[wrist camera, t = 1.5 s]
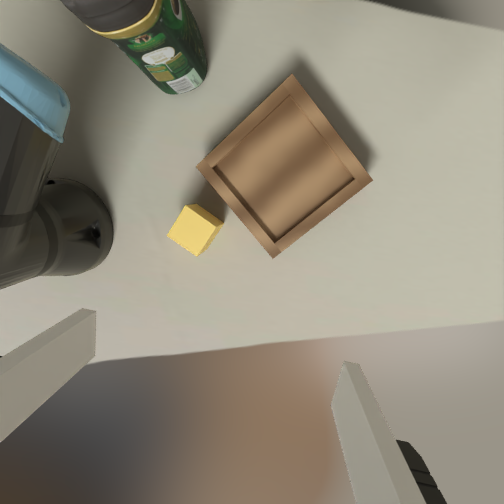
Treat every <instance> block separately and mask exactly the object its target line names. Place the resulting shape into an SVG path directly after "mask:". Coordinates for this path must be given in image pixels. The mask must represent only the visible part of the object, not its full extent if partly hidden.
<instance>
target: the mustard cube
mask: <svg viewBox="0 0 504 504" xmlns="http://www.w3.org/2000/svg"><path fill="white" fill-rule="evenodd" d="M223 224H224V223H223V222H222V221H220V220H219V219H217V218H216V217H215V216H213V215H212V214H210V213H209V212H208V211H206V210H205V209H203V208H202V207H201V206H199V205H198V204H192V205H185V206H184V208H183V210H182V211H181V213H180V215H179V216H178V218H177V220H176V221H175V223H174V225H173V226H172V228H171V229H170V231H169V233H168V234H167V236H168V237H169V238H171V239H172V240H174V241H175V242H177V243H178V244H179V245H181V246H182V247H184V248H185V249H187V250H188V251H190V252H191V253H192V254H194V255H195V256H198V255H200V254H201V253H202V252H204V251H205V250H206V249H207V248H208V247H209V245H210V244H211V242H212V241H213V239H214V238H215V236H216V235H217V233H218V232H219V230H220V229H221V227H222V226H223Z"/></svg>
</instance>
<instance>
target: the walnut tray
mask: <svg viewBox="0 0 504 504" xmlns="http://www.w3.org/2000/svg"><path fill="white" fill-rule="evenodd" d="M196 167H197V169H198V170H199V171H200V172H201V173H202V175H203V176H204V177H205V178H206V179H207V181H208V182H209V183H210V184H211V185H212V187H213V188H214V189H215V190H216V191H217V193H218V194H219V195H220V196H221V197H222V198H223V200H224V201H225V202H226V203H227V204H228V206H229V207H230V208H231V209H232V210H233V212H234V213H235V214H236V215H237V216H238V218H239V219H240V220H241V221H242V222H243V224H244V225H245V226H246V227H247V228H248V229H249V231H250V232H251V233H252V234H253V235H254V237H255V238H256V239H257V240H258V241H259V243H260V244H261V245H262V246H263V247H264V249H265V250H266V251H267V252H268V253H269V255H270V256H271V257H272V258H274V257H276V256H277V255H278V254H280V253H281V252H282V251H283V250H285V249H286V248H287V247H288V246H290V245H291V244H292V243H294V242H295V241H296V240H297V239H299V238H300V237H301V236H303V235H304V234H305V233H306V232H308V231H309V230H310V229H311V228H313V227H314V226H315V225H317V224H318V223H319V222H320V221H322V220H323V219H324V218H326V217H327V216H328V215H329V214H331V213H332V212H333V211H334V210H336V209H337V208H338V207H340V206H341V205H342V204H343V203H345V202H346V201H347V200H349V199H350V198H351V197H352V196H354V195H355V194H356V193H357V192H359V191H360V190H361V189H363V188H364V187H365V186H366V185H368V184H369V183H370V182H372V181H373V179H372V178H371V177H370V176H369V174H368V173H367V172H366V170H365V169H364V168H363V166H362V165H361V164H360V162H359V161H358V160H357V158H356V157H355V156H354V154H353V153H352V152H351V150H350V149H349V148H348V147H347V145H346V144H345V143H344V141H343V140H342V139H341V137H340V136H339V135H338V133H337V132H336V131H335V129H334V128H333V127H332V125H331V124H330V123H329V121H328V120H327V119H326V118H325V116H324V115H323V114H322V112H321V111H320V110H319V108H318V107H317V106H316V104H315V103H314V102H313V100H312V99H311V98H310V96H309V95H308V94H307V92H306V91H305V90H304V89H303V87H302V86H301V85H300V83H299V82H298V81H297V79H296V78H295V77H294V75H293V74H291V75H290V76H289V77H288V78H287V79H286V80H285V81H284V82H283V83H282V84H281V85H280V86H279V87H278V88H277V89H276V90H275V91H274V92H272V93H271V94H270V95H269V96H268V97H267V98H266V99H265V100H264V101H263V102H262V103H261V104H260V105H259V106H258V107H257V108H256V109H255V110H254V111H253V112H252V113H251V114H250V115H249V116H248V117H247V118H246V119H245V120H243V121H242V122H241V123H240V124H239V125H238V126H237V127H236V128H235V129H234V130H233V131H232V132H231V133H230V134H229V135H228V136H227V137H226V138H225V139H224V140H223V141H222V142H221V143H220V144H219V145H218V146H217V147H215V148H214V149H213V150H212V151H211V152H210V153H209V154H208V155H207V156H206V157H205V158H204V159H203V160H202V161H201V162H200V163H199V164H198V165H197V166H196Z"/></svg>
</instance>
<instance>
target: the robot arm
mask: <svg viewBox="0 0 504 504" xmlns="http://www.w3.org/2000/svg"><path fill="white" fill-rule="evenodd" d="M69 113H70V101H69V99H68V96H67V95H66V93H65V91H64V90H63V89H62V88H61V87H60V86H59V85H58V84H57V83H56V82H54V81H53V80H52V79H50V78H49V77H48V76H46V75H45V74H44V73H42V72H41V71H39V70H38V69H37V68H35V67H34V66H32V65H31V64H30V63H28V62H27V61H25V60H24V59H23V58H21V57H20V56H18V55H17V54H15V53H14V52H12V51H11V50H10V49H8V48H7V47H5V46H4V45H2V44H1V43H0V289H3V288H5V287H8V286H11V285H14V284H17V283H20V282H22V281H25V280H28V279H31V278H34V277H37V276H71V275H77V274H81V273H83V272H86V271H88V270H91V269H93V268H95V267H97V266H98V265H99V264H100V263H102V261H103V260H104V259H105V258H106V256H107V255H108V253H109V251H110V248H111V245H112V239H113V228H112V222H111V218H110V215H109V213H108V211H107V209H106V207H105V205H104V204H103V202H102V201H101V199H100V198H99V197H98V196H97V195H96V194H95V193H94V192H93V191H92V190H91V189H89V188H88V187H86V186H85V185H83V184H81V183H79V182H76V181H73V180H69V179H58V178H47V177H48V174H49V172H50V169H51V167H52V164H53V161H54V159H55V156H56V154H57V151H58V149H59V146H60V144H61V143H63V141H64V138H63V134H64V130H65V126H66V123H67V120H68V116H69ZM95 339H96V311H93V310H88V309H83V308H82V309H80V310H79V311H77V312H75V313H74V314H72V315H71V316H69V317H67V318H66V319H64V320H62V321H61V322H59V323H57V324H56V325H54V326H52V327H51V328H49V329H47V330H46V331H44V332H43V333H41V334H39V335H38V336H36V337H34V338H33V339H31V340H29V341H28V342H26V343H24V344H23V345H21V346H19V347H18V348H16V349H14V350H13V351H11V352H10V353H8V354H6V355H5V356H0V442H1V441H2V440H4V438H6V437H7V436H8V435H9V434H10V433H11V432H12V431H13V430H14V429H16V427H18V426H19V425H20V424H21V423H22V422H23V421H24V420H25V419H27V418H28V417H29V416H30V415H31V414H32V413H33V412H34V411H35V410H36V409H37V408H39V407H40V406H41V405H42V404H43V403H44V402H45V401H46V400H47V399H48V398H49V397H51V396H52V395H53V394H54V393H55V392H56V391H57V390H58V389H59V388H60V387H61V386H63V385H64V384H65V383H66V382H67V381H68V380H69V379H70V378H71V377H72V376H74V375H75V374H76V373H77V372H78V371H79V370H80V369H81V368H82V367H83V366H85V365H86V364H87V363H88V362H89V361H90V360H91V359H92V358H93V357H94V356H95ZM331 408H332V412H333V415H334V420H335V423H336V427H337V431H338V435H339V439H340V443H341V447H342V451H343V455H344V458H345V462H346V466H347V470H348V474H349V478H350V482H351V486H352V489H353V493H354V497H355V501H356V504H447V503H446V501H445V499H444V497H443V495H442V494H441V492H440V490H438V488H437V485H436V483H435V481H434V479H433V477H432V476H430V472H429V470H428V468H427V466H426V464H425V463H424V461H423V459H422V457H421V456H420V455H419V454H418V453H417V452H416V450H415V449H414V448H413V447H412V446H411V445H410V443H408V442H405V441H400V440H395V438H394V436H393V434H392V432H391V429H390V427H389V425H388V424H387V421H386V419H385V417H384V415H383V413H382V411H381V409H380V407H379V404H378V402H377V400H376V398H375V397H374V394H373V392H372V390H371V388H370V386H369V384H368V382H367V380H366V378H365V376H364V373H363V372H362V369H361V367H360V365H359V364H356V363H351V362H346V361H344V362H343V365H342V369H341V372H340V376H339V379H338V383H337V386H336V390H335V393H334V396H333V400H332V403H331Z"/></svg>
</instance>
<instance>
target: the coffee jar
mask: <svg viewBox="0 0 504 504" xmlns="http://www.w3.org/2000/svg"><path fill="white" fill-rule="evenodd" d="M61 2H62V3H63V4H64V5H65V6H66V7H67V8H68V9H69V10H70V11H71V12H73V13H74V14H75V15H76V16H77V17H78V18H79V19H80V20H81V21H82V22H83V23H84V24H85V25H86V26H87V27H88V28H90V29H91V30H92V31H94V32H95V33H97V34H99V35H101V36H103V37H106V38H109V39H110V40H112V41H113V42H114V43H115V44H116V45H117V46H118V47H119V48H120V49H121V50H122V51H123V52H124V53H125V54H126V55H127V56H128V57H129V58H130V59H131V60H132V61H133V62H134V63H135V64H136V65H137V66H138V67H139V68H140V69H141V70H142V71H143V72H144V73H145V74H146V75H147V76H148V78H149V79H150V80H151V81H152V82H153V83H154V84H156V85H157V86H158V87H159V88H160V89H161V90H162V91H163V92H165V93H168V94H181V93H185V92H188V91H191V90H193V89H195V88H196V87H198V86H199V85H200V84H201V83H202V82H203V81H204V79H205V76H206V72H207V65H206V57H205V51H204V46H203V42H202V38H201V34H200V31H199V28H198V26H197V23H196V21H195V18H194V16H193V15H192V13H191V11H190V9H189V7H188V5H187V4H186V2H185V0H61Z"/></svg>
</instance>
